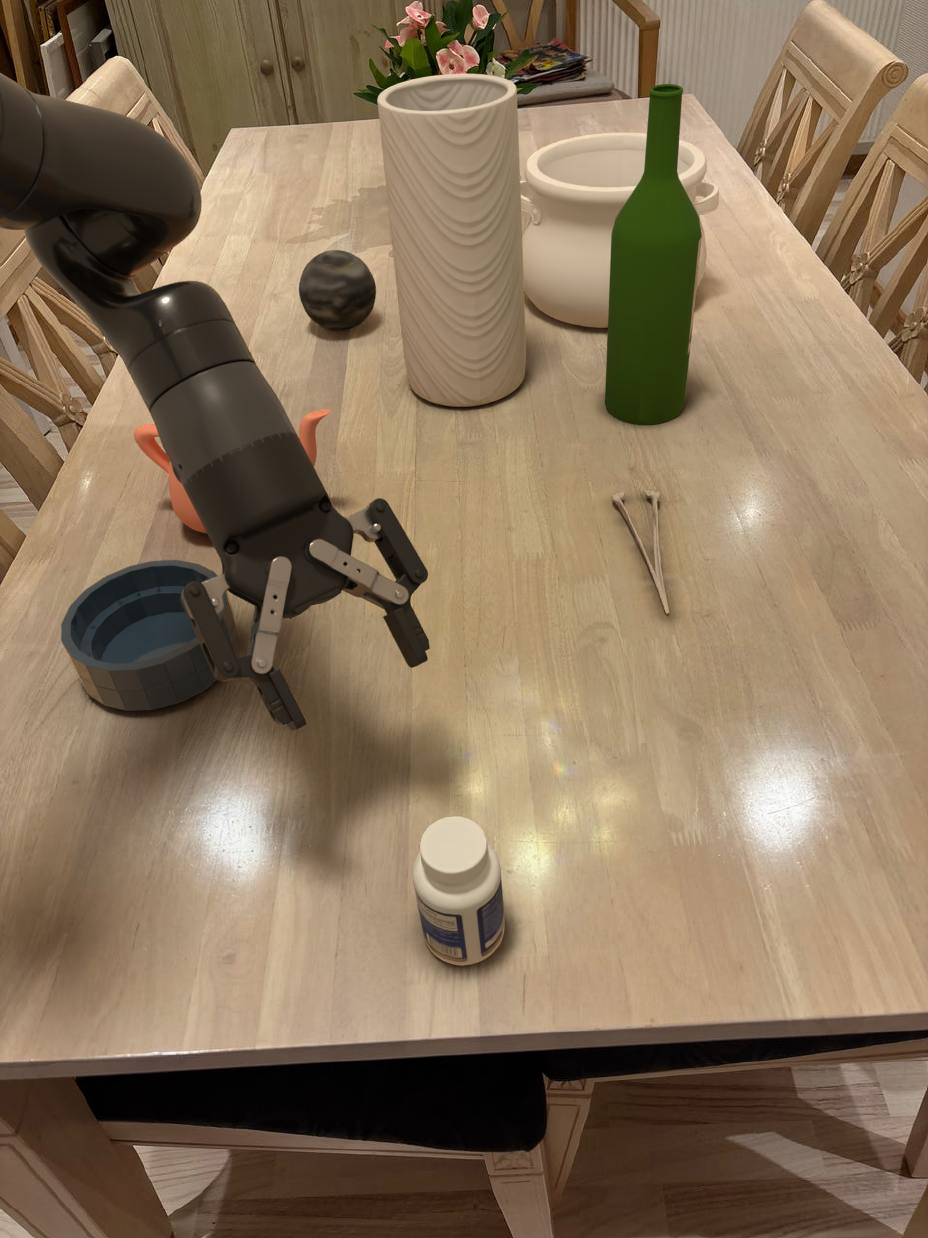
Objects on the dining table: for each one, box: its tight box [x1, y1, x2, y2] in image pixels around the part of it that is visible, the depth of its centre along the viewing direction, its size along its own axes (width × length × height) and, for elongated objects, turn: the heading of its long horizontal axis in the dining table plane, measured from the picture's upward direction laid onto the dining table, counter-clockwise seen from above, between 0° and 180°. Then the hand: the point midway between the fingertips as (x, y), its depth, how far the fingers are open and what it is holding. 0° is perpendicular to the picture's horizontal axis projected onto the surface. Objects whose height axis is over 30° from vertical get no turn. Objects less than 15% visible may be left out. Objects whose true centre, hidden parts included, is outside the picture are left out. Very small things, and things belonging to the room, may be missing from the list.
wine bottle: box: [604, 83, 702, 426], centre depth 99 cm, size 9×9×32 cm
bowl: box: [60, 559, 241, 712], centre depth 82 cm, size 14×14×6 cm
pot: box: [520, 132, 720, 329], centre depth 125 cm, size 26×24×18 cm
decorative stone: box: [298, 249, 377, 332], centre depth 126 cm, size 10×10×10 cm
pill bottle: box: [412, 815, 506, 966], centre depth 60 cm, size 5×5×10 cm
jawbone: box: [611, 489, 670, 615], centre depth 90 cm, size 17×5×2 cm, turn 2°
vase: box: [376, 73, 527, 408], centre depth 106 cm, size 14×14×32 cm
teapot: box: [133, 408, 331, 535], centre depth 96 cm, size 13×20×12 cm, turn 85°
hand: (361, 695), depth 59 cm, fingers open, 8 cm apart
